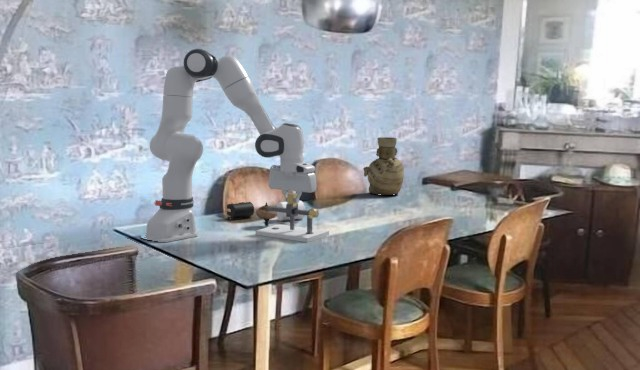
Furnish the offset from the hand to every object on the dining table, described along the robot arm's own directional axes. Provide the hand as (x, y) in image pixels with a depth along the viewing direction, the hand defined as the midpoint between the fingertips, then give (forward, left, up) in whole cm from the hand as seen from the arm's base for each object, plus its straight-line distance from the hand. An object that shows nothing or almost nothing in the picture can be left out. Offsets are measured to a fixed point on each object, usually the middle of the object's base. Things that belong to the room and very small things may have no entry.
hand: (292, 202), depth 267 cm
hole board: (0, 0, -13) cm, 13 cm away
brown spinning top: (+8, +18, -13) cm, 23 cm away
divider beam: (0, 0, -11) cm, 11 cm away
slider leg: (0, 0, -11) cm, 11 cm away
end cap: (+16, +38, -13) cm, 43 cm away
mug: (+24, +16, -13) cm, 31 cm away
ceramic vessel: (+108, +15, -13) cm, 109 cm away
